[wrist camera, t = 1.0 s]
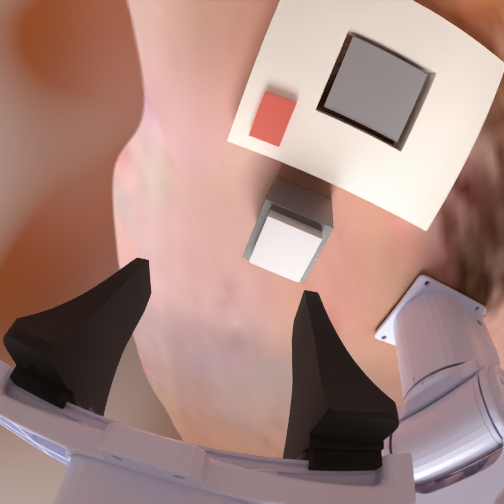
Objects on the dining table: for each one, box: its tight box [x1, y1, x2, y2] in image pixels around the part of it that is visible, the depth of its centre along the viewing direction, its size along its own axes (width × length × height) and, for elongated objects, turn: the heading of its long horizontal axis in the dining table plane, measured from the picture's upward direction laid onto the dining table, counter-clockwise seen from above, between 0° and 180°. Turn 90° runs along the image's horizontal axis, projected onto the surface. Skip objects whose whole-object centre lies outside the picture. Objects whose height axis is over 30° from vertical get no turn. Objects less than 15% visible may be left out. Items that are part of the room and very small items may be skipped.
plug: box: [243, 176, 333, 283], centre depth 21 cm, size 4×4×6 cm
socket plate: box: [227, 0, 504, 231], centre depth 16 cm, size 15×14×3 cm
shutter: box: [324, 36, 427, 142], centre depth 16 cm, size 5×5×1 cm
